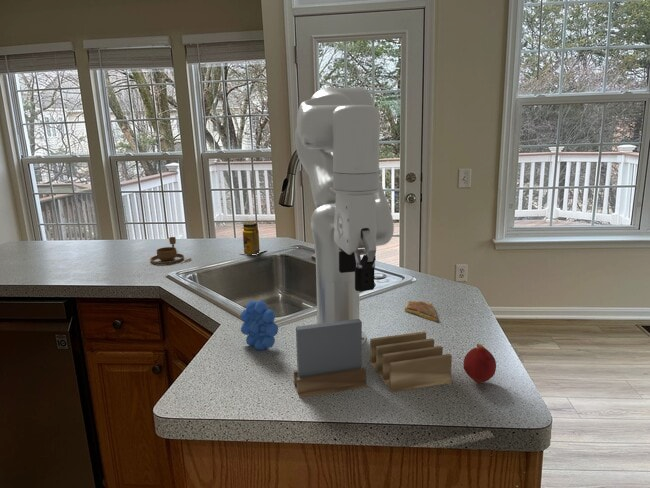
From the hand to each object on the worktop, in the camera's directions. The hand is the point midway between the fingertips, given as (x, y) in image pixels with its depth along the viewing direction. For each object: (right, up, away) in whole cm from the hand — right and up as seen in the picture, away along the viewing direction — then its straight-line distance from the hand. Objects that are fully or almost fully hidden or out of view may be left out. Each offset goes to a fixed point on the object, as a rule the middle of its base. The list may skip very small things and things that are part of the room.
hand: (355, 280), depth 81 cm
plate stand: (-4, -21, +6) cm, 22 cm away
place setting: (-63, 0, +95) cm, 114 cm away
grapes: (-19, -17, +21) cm, 33 cm away
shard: (+21, -12, +41) cm, 47 cm away
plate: (-4, -20, +6) cm, 21 cm away
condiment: (-33, +3, +100) cm, 105 cm away
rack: (+11, -19, +10) cm, 24 cm away
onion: (+24, -20, +7) cm, 32 cm away
